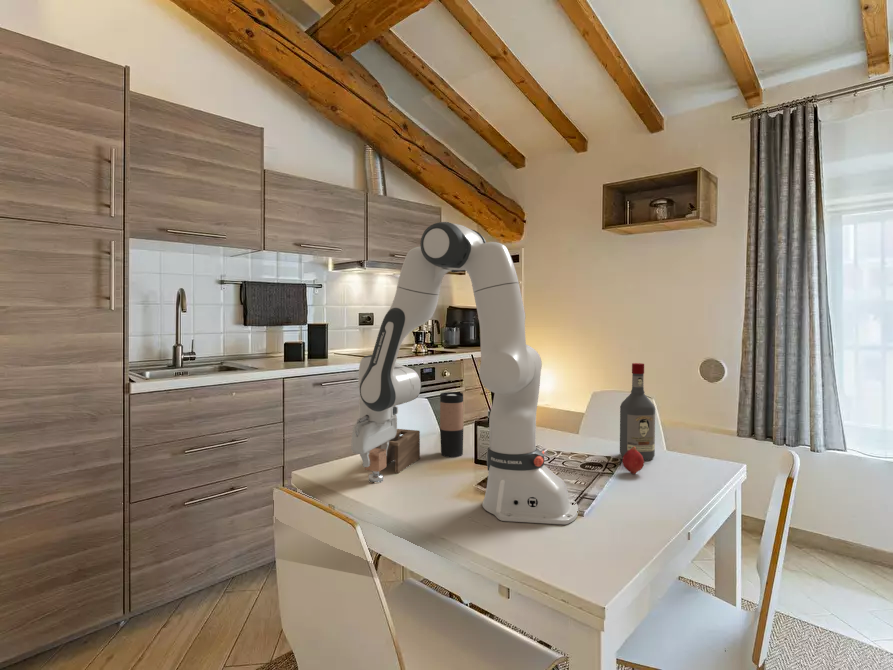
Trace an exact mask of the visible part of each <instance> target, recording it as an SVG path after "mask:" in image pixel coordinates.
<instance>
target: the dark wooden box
mask: <svg viewBox="0 0 893 670" xmlns="http://www.w3.org/2000/svg"><path fill="white" fill-rule="evenodd" d="M420 433H421V431H420V430H417V429H416V430H415V429H414V430H413V429H406V428H405V429H404V428H397V433H396V436H395V438H393V439H391V440H389V446H388V449H387V456H386V464H387V465H389V464H391V463H392V462H394V473H395V474H399V473H401V472H403V471H404V470H405V469H407V468H408V467H410V466H411V465H413V464H414V463H415V461H416V462H418V460H420V459H421V437H420V436H421V434H420ZM376 448H378V449H381V445H380V446H378V447H376ZM393 460H394V461H393ZM391 461H392V462H391ZM388 463H389V464H388ZM412 463H413V464H412ZM409 465H410V466H409ZM406 467H407V468H406ZM403 469H404V470H403ZM400 471H401V472H400Z"/></svg>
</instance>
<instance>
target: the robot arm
mask: <svg viewBox="0 0 893 670" xmlns="http://www.w3.org/2000/svg"><path fill="white" fill-rule="evenodd" d="M419 244H420V245H419V246H416V247H413V248H411V249H410V250H409V251H407V253H406V256H405V257H404V261H403V263H402V266H401V268H400V269H401V270H400V273H399V277H398V281H397V286H396V291H395V294H394V298H393V301H392V303H391V306H390V307H389V308H388V310H387V312H386V314H385V316H384V318H382V319H383V320H382V321H381V322H382V323H381V325H380V328H379V330H378V334H377V337H376V341H375V344H374V348H373V350H372V354H370V355H365V356H364V357H362V358H361V360H360V361H359V368H358V381H357V383H358V391H359V398H358V419H357V420H356V423H355V424H354V425H353V428H352V433H351V449H350V450H351V452H352V453H353V454H357V455H360V456H359V457H360V458H361V460H362V467H363V468H365V467H369V466H371V459H369V451H370V450H372V449H374V448H376V447H378V446H380V445H381V449H386V456H387V449H388V446H389V440H391V439H393V438H395V436H396V433H397V429H398V417H397V415H398V414H399V407H398V406H400V405H403V404H407V403H410V402H411V401H414V400H416V399H417V398H419V396H420V394H421V391H422V380H421V377H420V374H419V373H418V372H417V371H416V370H415V369H414V368H411V367H407V366H405V365H403V364H399V363H398V362H397V359H398V355H399V352H400V349H401V346H402V344H403V341H404V340H405V338H406V337H407V336H408V335H409V334H410V333H411V332H413V331H414V330H416V329H417V328H419V327H420V326H422V325H424V324H426V323H427V322H429V321H430V320H431V319H432V318H433V315H434V314H435V312H436V309H437V307H438V302H439V299H440V292H441V285H442V282H443V280H444V278H445V275H446V274H448V273H449V272H452V273H461V272H466V273H467V274H468V276H469V278H470V281H471V286H472V293H473V296H474V302H475V307H476V312H477V317H478V323H479V332H480V333H479V337H480V343H479V344H480V364H479V369H478V371H479V373H478V374H479V379H480V381H481V384H482V385H483V386H484V388H486V389H487V390H488V391H489V392H491V393H493V400H492V404H491V409H490V412H489V417H488V420H489V421H488V422H489V424H488V426H489V427H488V432H489V433H488V435H489V436H488V437H489V439H488V440H489V443H488V444H489V445H488V447H487V453H486V465H487V472H488V475H487V483H486V489H485V494H484V498H483V502H482V507H483V509H484V510H485V511H487V512H488V513H490V514H491V515H494V516H495V517H496V518H497V519H498V520H500V521H502V522H517V523H518V522H519V523H531V524H532V523H533V524H534V523H535V524H548V525H549V524H550V525H568V524H571V523H572V522H573V521H575V520H576V519H577V518H578V515H579V505H578V504H577V502H576V501H575V500H574V499H571V498H570V497H569V496H570V495H569V492H568V488H567V485H566V484H567V483H565V481H564V480H563V479H562V478H561V477H560V476H558V475H557V474H555V473H554V472H553V471H552V470H551V469H550V468H548V467H547V466H546V465H545V451H544V450H542V451H541V450H539V449H538V448H537V445H536V441H537V440H536V439H537V433H536V432H537V411H538V410H537V409H538V403H539V396H540V395H539V394H540V385H541V373H542V365H543V362H542V358H541V356H540V354H539V353H538V351H537V350H536V349H535V348H534V347H532V346H530V345H528V344H527V341H526V338H527V337H526V312H525V306H524V301H523V297H522V291H521V288H520V282H519V279H518V277H519V276H518V275H517V271H516V267H515V264H514V261H513V258H512V256H511V254H510V251H509V250H508V247H506V245H505V244H503V243H500V242H498V241H497V242H496V241H488V242H487V240H486V239H485V238H484V236H483V235H481V233H480V232H478V230H477V231H476V230H475V229H471V228H468V227H467V226H466V225H462V224H459V223H451V222H448V221H440V222H435V223H433V224H431V225H429V226H428V227H426V229H425V230H424V231H423V233H422V235H421V238H420V243H419ZM570 503H576V504H575V505H572V504H570ZM577 511H578V513H577Z"/></svg>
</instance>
